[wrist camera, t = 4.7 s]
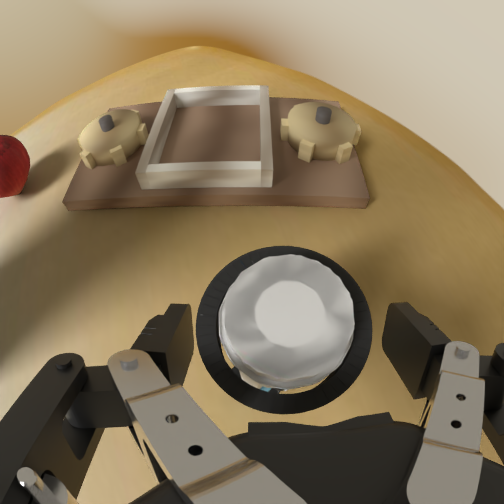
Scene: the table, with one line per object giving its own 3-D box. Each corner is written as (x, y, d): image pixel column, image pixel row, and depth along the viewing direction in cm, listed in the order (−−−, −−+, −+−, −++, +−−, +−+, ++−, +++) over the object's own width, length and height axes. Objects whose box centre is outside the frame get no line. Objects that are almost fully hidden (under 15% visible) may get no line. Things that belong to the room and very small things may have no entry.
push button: (280, 292, 19) (302, 178, 10) (348, 346, 17) (431, 270, 9) (204, 370, 17) (150, 316, 8) (274, 432, 15) (301, 454, 6)
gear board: (65, 210, 23) (43, 178, 19) (109, 117, 29) (99, 87, 25) (369, 208, 22) (386, 170, 19) (339, 111, 29) (346, 77, 25)
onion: (33, 162, 26) (2, 107, 19) (48, 185, 24) (11, 123, 17) (-5, 197, 24) (-42, 146, 17) (6, 224, 22) (-40, 169, 15)
